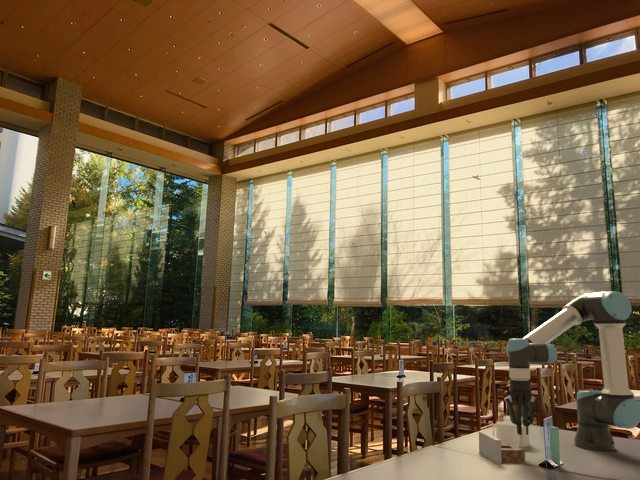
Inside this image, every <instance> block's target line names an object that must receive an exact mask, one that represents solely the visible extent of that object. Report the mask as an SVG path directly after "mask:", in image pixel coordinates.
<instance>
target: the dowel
mask: <svg viewBox="0 0 640 480" xmlns="http://www.w3.org/2000/svg"><path fill="white" fill-rule="evenodd" d="M559 429H560V428H559V427H557V426H549V444H550V446H549V447H550V461H551V460H552V461H553V462H554V463H555V464H557V465H558V466H557V467H561V452H560V451H561V450H560V432H559Z"/></svg>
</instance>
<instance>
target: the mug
mask: <svg viewBox="0 0 640 480" xmlns="http://www.w3.org/2000/svg"><path fill="white" fill-rule="evenodd" d="M503 422H511V419H510V415H504V416H503ZM522 425H523V423H522ZM526 438H527V445H523V444H521V443H520V439H519V434H518V447H519V448H521V447H522V448H523V447H524V448H525V447H530V446H531V444H530V425H529V426H528V435H526Z"/></svg>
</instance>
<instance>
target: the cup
mask: <svg viewBox="0 0 640 480" xmlns="http://www.w3.org/2000/svg"><path fill="white" fill-rule="evenodd" d="M492 436H494V437H496V438H498V439H500V440H501V444H513V445H515V446H517V447H518V434H517V425H516V424H513V423H512V422H504V420H503V421H496V422H495V423H494V424H493V426H492Z"/></svg>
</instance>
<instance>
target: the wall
mask: <svg viewBox="0 0 640 480" xmlns="http://www.w3.org/2000/svg"><path fill="white" fill-rule="evenodd" d="M478 453H479V454H480V455H482V456H483V457H485V458H487V459H488V460H490V461H491V462H493V463H494V464H497V465H500V464H502V463H503V462H502V458H501V440H500V439H498V438H496V437H494V436H493V434H490V433H488V432H486V431H485V430H478Z"/></svg>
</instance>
